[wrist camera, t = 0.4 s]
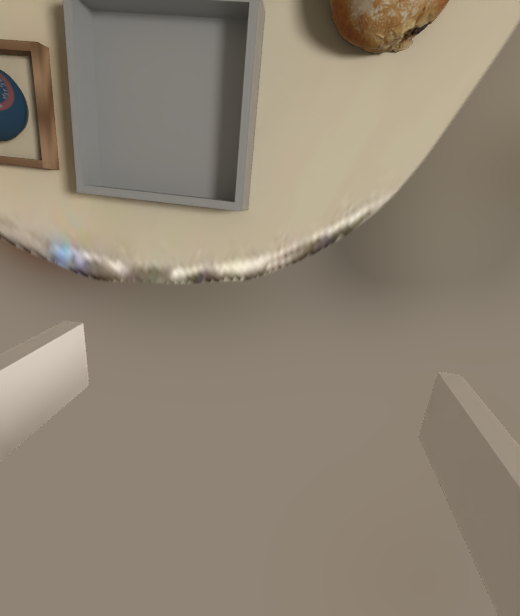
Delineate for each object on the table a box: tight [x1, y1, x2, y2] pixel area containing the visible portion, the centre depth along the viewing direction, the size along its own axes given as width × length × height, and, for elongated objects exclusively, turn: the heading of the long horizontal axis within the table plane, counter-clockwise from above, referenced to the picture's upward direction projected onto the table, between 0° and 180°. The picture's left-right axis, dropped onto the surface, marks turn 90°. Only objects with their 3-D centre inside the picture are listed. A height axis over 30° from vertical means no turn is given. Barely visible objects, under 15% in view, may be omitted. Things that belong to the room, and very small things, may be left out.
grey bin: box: [63, 0, 265, 211], centre depth 33 cm, size 18×18×4 cm
